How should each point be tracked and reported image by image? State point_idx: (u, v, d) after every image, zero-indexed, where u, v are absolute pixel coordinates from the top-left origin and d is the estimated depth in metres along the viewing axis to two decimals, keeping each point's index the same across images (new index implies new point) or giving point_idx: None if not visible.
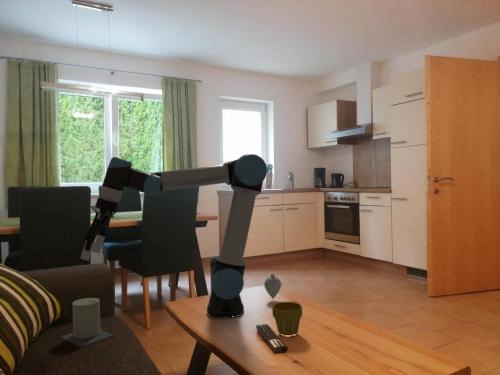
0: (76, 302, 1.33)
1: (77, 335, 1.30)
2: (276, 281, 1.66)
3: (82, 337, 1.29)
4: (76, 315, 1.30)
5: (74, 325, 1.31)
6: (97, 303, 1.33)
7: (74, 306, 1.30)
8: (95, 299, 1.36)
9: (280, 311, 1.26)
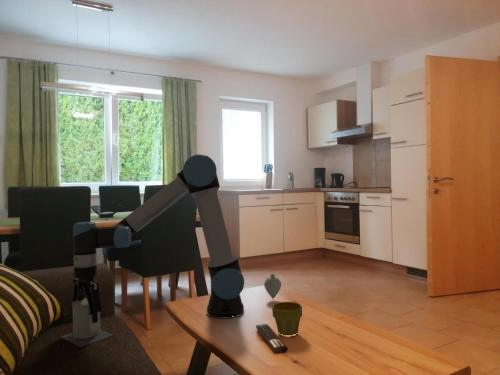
0: (76, 302, 1.33)
1: (77, 335, 1.30)
2: (276, 281, 1.66)
3: (82, 337, 1.29)
4: (76, 315, 1.30)
5: (74, 325, 1.31)
6: None
7: (74, 306, 1.30)
8: None
9: (280, 311, 1.26)
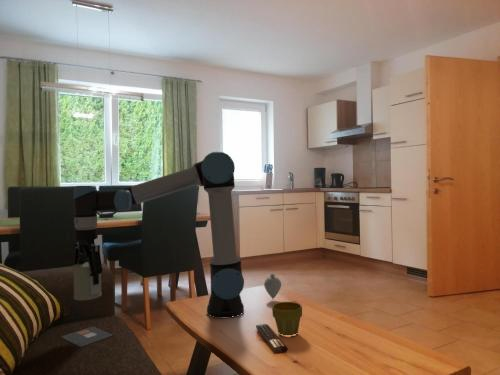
0: (77, 265, 1.33)
1: (78, 297, 1.30)
2: (276, 281, 1.66)
3: (83, 299, 1.30)
4: (77, 277, 1.30)
5: (75, 287, 1.31)
6: None
7: (75, 268, 1.30)
8: None
9: (280, 311, 1.26)
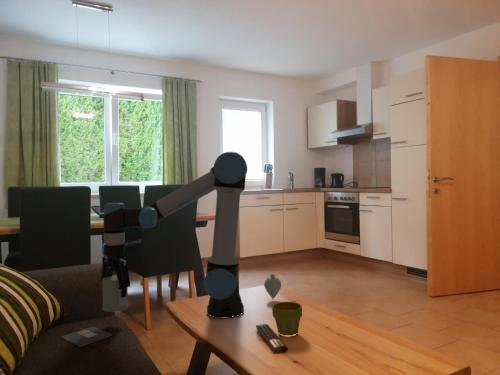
0: (106, 278, 1.41)
1: (107, 308, 1.38)
2: (276, 281, 1.66)
3: (112, 310, 1.37)
4: (106, 290, 1.38)
5: (104, 299, 1.38)
6: None
7: (104, 281, 1.38)
8: None
9: (280, 311, 1.26)
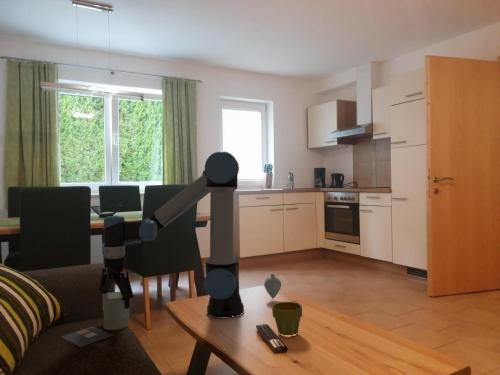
0: (107, 296, 1.41)
1: (108, 326, 1.38)
2: (276, 281, 1.66)
3: (113, 328, 1.37)
4: (107, 307, 1.38)
5: (105, 317, 1.39)
6: None
7: (105, 299, 1.38)
8: None
9: (280, 311, 1.26)
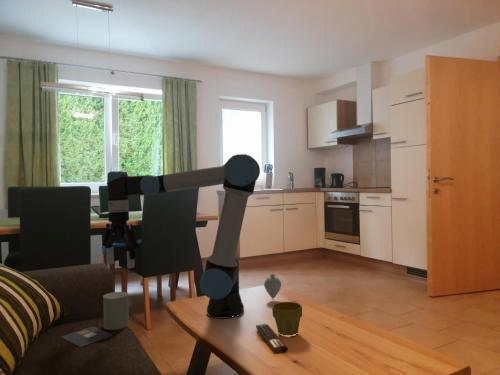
0: (107, 296, 1.41)
1: (108, 326, 1.38)
2: (276, 281, 1.66)
3: (113, 328, 1.37)
4: (107, 307, 1.38)
5: (105, 317, 1.39)
6: (126, 296, 1.41)
7: (105, 299, 1.38)
8: (124, 293, 1.44)
9: (280, 311, 1.26)
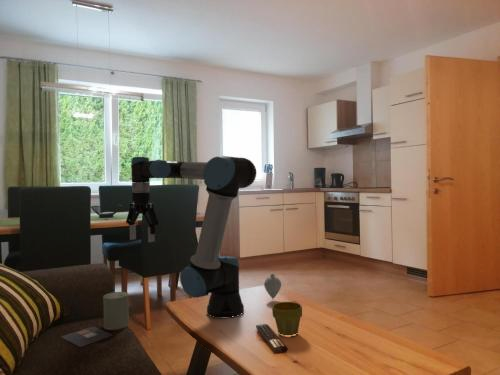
0: (107, 296, 1.41)
1: (108, 326, 1.38)
2: (276, 281, 1.66)
3: (113, 328, 1.37)
4: (107, 307, 1.38)
5: (105, 317, 1.38)
6: (126, 296, 1.41)
7: (105, 299, 1.38)
8: (124, 293, 1.44)
9: (280, 311, 1.26)
